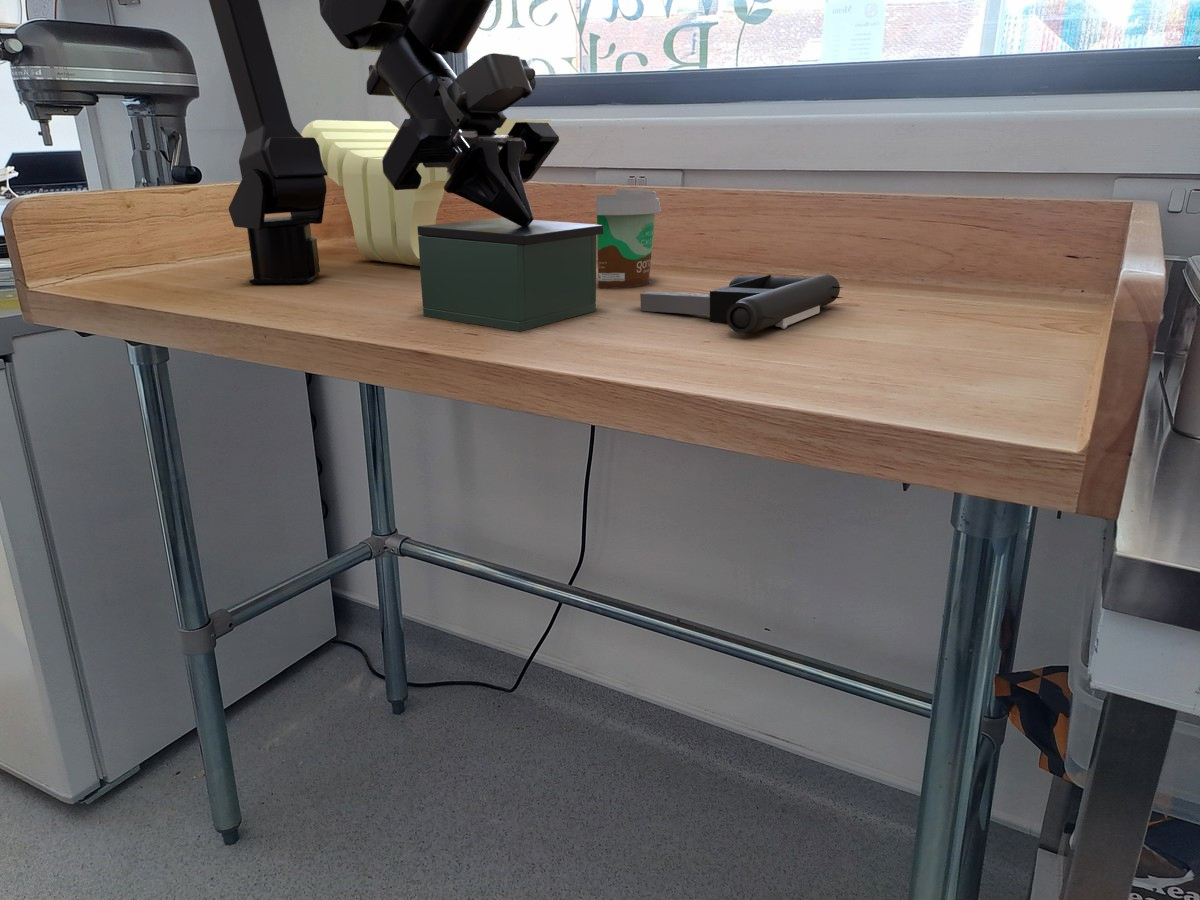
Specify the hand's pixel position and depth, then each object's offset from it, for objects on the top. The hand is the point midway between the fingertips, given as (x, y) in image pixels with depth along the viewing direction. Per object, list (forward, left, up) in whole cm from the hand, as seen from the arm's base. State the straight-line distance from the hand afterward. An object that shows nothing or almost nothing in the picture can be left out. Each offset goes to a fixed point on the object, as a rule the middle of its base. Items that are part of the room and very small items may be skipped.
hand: (528, 223), depth 77 cm
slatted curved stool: (-13, +40, -9) cm, 43 cm away
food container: (+12, +19, -9) cm, 24 cm away
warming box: (-2, +1, -8) cm, 9 cm away
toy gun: (+19, 0, -9) cm, 21 cm away
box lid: (-1, +1, -1) cm, 2 cm away
